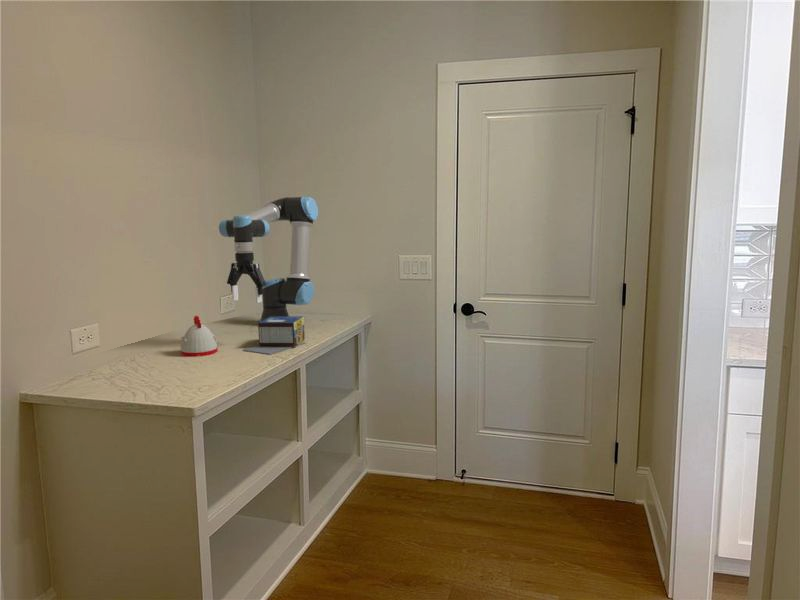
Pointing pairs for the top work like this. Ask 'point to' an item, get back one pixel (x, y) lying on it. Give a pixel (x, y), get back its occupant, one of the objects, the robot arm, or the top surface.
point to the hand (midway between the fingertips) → (247, 301)
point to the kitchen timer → (198, 341)
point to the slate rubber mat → (269, 349)
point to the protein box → (281, 331)
